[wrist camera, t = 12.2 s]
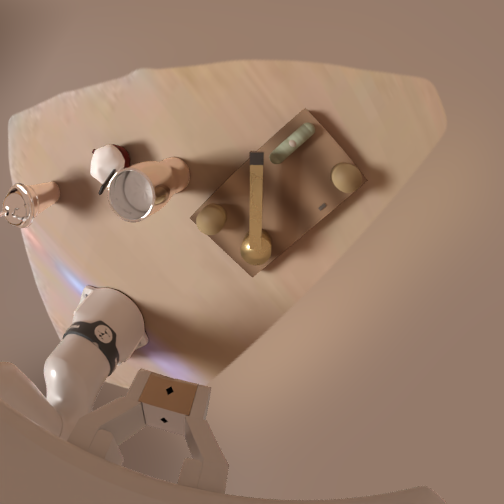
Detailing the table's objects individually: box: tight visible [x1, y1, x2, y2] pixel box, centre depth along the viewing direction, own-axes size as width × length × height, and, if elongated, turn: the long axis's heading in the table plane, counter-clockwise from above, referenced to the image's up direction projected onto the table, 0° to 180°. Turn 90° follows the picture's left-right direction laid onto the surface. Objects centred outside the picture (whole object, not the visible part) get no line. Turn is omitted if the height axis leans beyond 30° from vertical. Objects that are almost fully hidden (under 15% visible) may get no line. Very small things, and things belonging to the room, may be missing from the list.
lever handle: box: [240, 151, 272, 265], centre depth 39 cm, size 16×4×5 cm, turn 179°
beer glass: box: [108, 157, 190, 222], centre depth 37 cm, size 7×7×15 cm
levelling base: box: [190, 108, 367, 277], centre depth 41 cm, size 24×14×6 cm, turn 134°
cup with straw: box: [0, 182, 60, 228], centre depth 37 cm, size 8×9×20 cm
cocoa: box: [90, 144, 130, 195], centre depth 38 cm, size 10×6×12 cm, turn 32°
